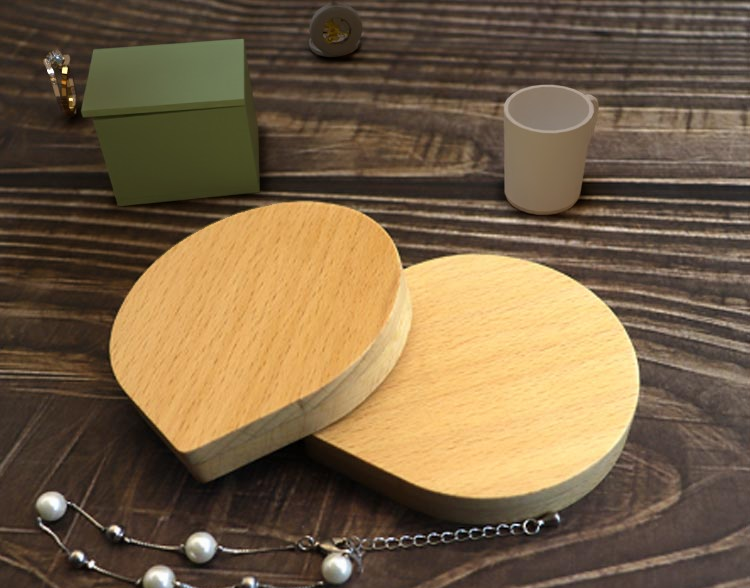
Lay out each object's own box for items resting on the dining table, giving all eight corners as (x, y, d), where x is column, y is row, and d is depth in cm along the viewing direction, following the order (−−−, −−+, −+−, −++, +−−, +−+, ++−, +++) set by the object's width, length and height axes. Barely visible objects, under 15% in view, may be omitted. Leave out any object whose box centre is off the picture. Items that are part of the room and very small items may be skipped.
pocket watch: (337, 29, 136) (331, -44, 129) (379, 50, 132) (375, -25, 124) (290, 52, 133) (281, -22, 125) (332, 75, 128) (325, -1, 121)
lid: (82, 117, 103) (80, 110, 103) (95, 55, 112) (93, 49, 111) (245, 105, 104) (244, 98, 103) (244, 45, 113) (243, 38, 112)
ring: (65, 99, 128) (46, 40, 122) (90, 97, 128) (73, 38, 122) (55, 130, 123) (35, 70, 117) (81, 128, 123) (63, 68, 117)
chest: (117, 206, 111) (92, 120, 103) (126, 142, 120) (104, 59, 112) (259, 192, 112) (245, 106, 104) (258, 129, 120) (245, 45, 113)
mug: (535, 229, 105) (541, 143, 97) (483, 187, 110) (485, 103, 103) (616, 191, 108) (628, 106, 101) (562, 152, 114) (570, 69, 106)
